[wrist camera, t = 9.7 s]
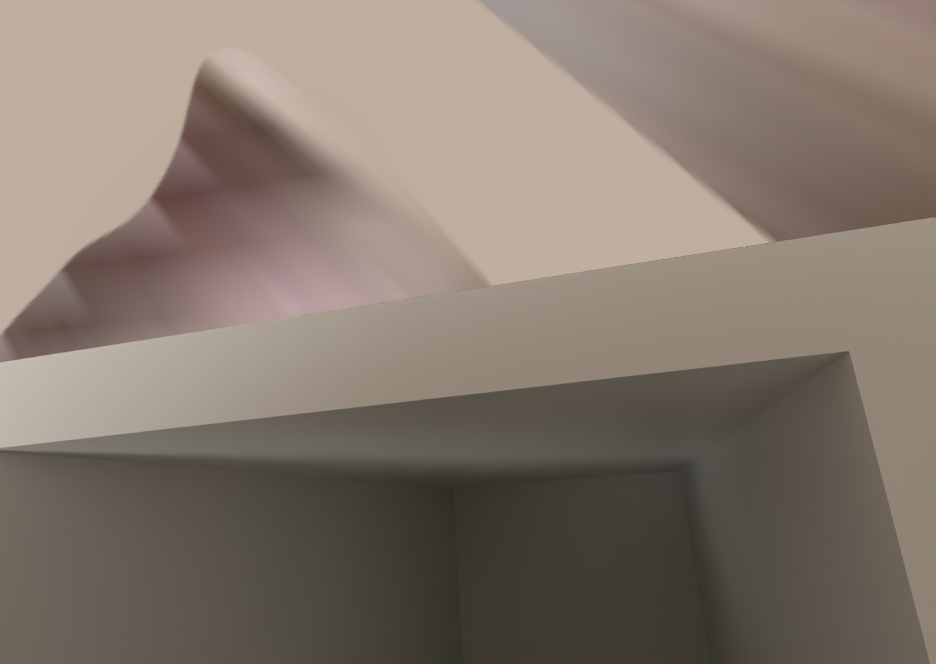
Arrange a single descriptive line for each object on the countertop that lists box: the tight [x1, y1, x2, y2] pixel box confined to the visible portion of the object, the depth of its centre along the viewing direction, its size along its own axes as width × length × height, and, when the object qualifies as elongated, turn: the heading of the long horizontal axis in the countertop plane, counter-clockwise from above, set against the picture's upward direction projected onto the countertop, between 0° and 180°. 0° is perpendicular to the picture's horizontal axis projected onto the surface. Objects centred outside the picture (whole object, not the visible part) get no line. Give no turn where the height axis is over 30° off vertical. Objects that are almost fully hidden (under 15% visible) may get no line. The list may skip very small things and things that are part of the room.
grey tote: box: [0, 217, 936, 664], centre depth 8 cm, size 6×6×12 cm
